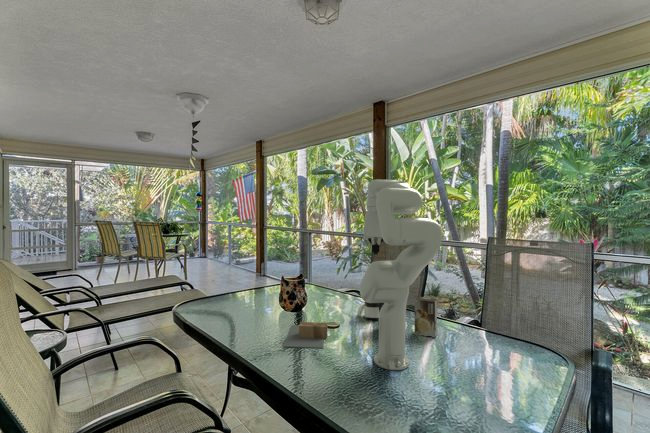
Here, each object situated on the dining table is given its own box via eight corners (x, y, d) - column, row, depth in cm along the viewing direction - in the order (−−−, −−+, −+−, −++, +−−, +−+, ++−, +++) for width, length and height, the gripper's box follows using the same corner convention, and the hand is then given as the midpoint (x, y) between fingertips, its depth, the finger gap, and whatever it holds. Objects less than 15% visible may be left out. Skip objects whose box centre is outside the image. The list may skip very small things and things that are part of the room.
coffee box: (437, 333, 145) (437, 298, 145) (435, 338, 140) (435, 301, 139) (416, 330, 149) (417, 295, 149) (413, 334, 144) (414, 299, 144)
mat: (323, 348, 128) (323, 347, 128) (283, 347, 128) (283, 346, 128) (325, 327, 152) (325, 326, 152) (292, 326, 152) (292, 325, 152)
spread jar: (380, 321, 160) (381, 298, 160) (358, 321, 161) (358, 298, 161) (377, 314, 172) (377, 292, 172) (356, 313, 173) (356, 292, 173)
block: (326, 326, 137) (299, 325, 137) (326, 338, 137) (298, 337, 138) (327, 322, 142) (300, 321, 142) (327, 333, 142) (300, 333, 143)
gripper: (392, 211, 139) (391, 253, 140) (358, 210, 140) (357, 252, 140) (395, 211, 132) (394, 255, 132) (359, 210, 133) (358, 254, 133)
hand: (375, 253), depth 136 cm, fingers closed
